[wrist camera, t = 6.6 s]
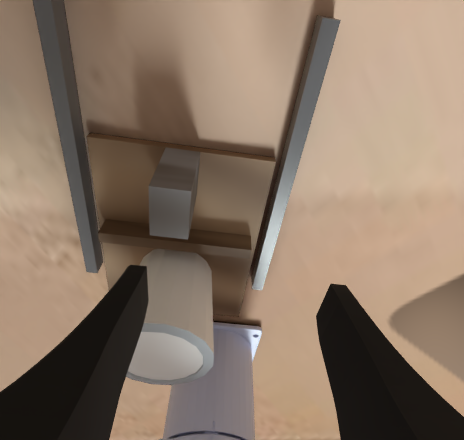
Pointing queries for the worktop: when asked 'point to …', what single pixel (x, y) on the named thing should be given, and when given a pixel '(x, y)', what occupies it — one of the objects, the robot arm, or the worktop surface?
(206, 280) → the white cup
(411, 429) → the robot arm
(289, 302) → the worktop surface
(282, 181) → the lane rails
